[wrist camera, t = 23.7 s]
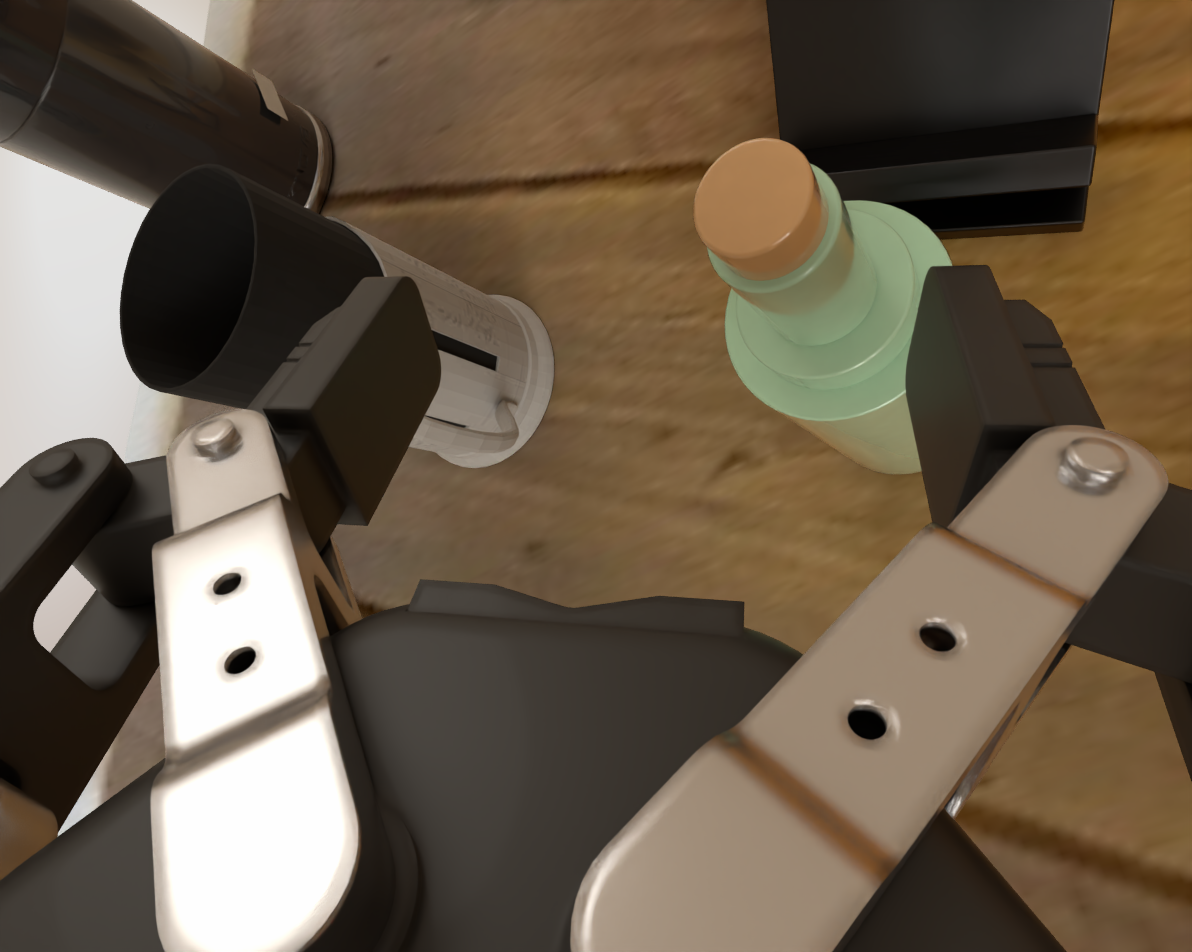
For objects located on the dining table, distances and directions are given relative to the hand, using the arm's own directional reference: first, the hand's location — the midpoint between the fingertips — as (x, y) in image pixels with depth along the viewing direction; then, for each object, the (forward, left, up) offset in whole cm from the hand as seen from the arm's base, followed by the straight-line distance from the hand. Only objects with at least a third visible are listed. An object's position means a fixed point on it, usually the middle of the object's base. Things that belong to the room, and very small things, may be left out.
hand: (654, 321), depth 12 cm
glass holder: (-16, +1, -18) cm, 24 cm away
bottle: (+1, +7, -15) cm, 17 cm away
